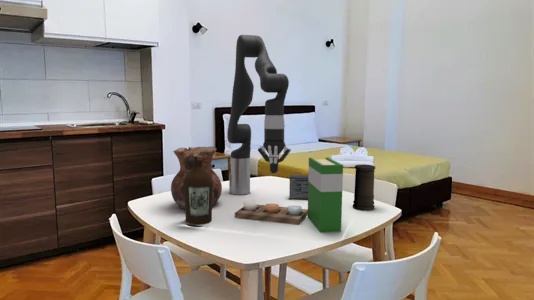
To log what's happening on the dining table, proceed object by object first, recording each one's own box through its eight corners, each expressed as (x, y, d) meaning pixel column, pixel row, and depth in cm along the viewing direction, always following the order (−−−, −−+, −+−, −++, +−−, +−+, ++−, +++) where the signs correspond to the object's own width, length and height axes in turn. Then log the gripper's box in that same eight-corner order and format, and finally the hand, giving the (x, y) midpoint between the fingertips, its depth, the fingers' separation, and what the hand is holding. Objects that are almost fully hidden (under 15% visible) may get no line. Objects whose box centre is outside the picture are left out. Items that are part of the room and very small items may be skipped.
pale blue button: (286, 214, 156) (286, 208, 156) (290, 211, 161) (290, 205, 161) (299, 216, 155) (299, 209, 154) (302, 212, 159) (303, 206, 159)
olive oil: (183, 219, 158) (182, 154, 155) (211, 218, 161) (211, 153, 157) (184, 228, 148) (183, 158, 145) (214, 226, 151) (214, 157, 147)
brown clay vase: (165, 202, 183) (164, 146, 180) (211, 197, 192) (210, 143, 189) (179, 216, 163) (178, 152, 160) (229, 209, 173) (229, 149, 170)
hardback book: (307, 219, 160) (308, 157, 157) (326, 219, 161) (328, 157, 158) (319, 235, 142) (321, 165, 139) (340, 234, 143) (343, 165, 140)
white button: (241, 210, 162) (241, 203, 162) (246, 207, 167) (246, 200, 166) (253, 211, 160) (253, 205, 160) (258, 208, 165) (258, 202, 165)
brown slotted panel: (234, 220, 158) (234, 212, 158) (248, 210, 172) (248, 203, 171) (299, 227, 150) (299, 219, 150) (308, 216, 164) (308, 209, 163)
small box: (312, 196, 196) (312, 174, 194) (312, 200, 189) (312, 177, 188) (289, 196, 197) (290, 174, 195) (289, 199, 190) (289, 176, 189)
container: (376, 206, 179) (378, 165, 177) (372, 211, 171) (373, 168, 169) (355, 204, 183) (356, 163, 181) (350, 209, 175) (351, 166, 173)
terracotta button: (263, 212, 159) (263, 206, 159) (268, 209, 164) (268, 202, 163) (276, 213, 157) (276, 207, 157) (280, 210, 162) (280, 204, 162)
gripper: (254, 127, 156) (254, 173, 158) (288, 128, 152) (288, 175, 154) (260, 126, 163) (260, 170, 165) (293, 127, 159) (293, 172, 161)
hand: (274, 173), depth 159 cm, fingers closed
